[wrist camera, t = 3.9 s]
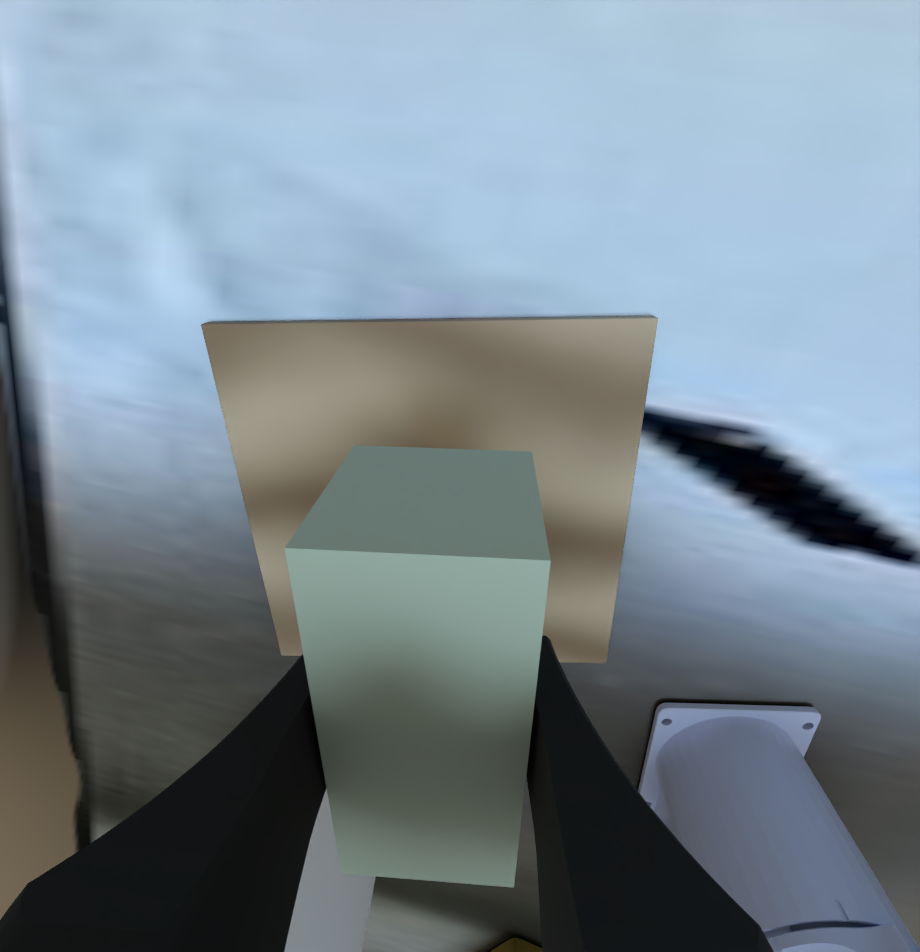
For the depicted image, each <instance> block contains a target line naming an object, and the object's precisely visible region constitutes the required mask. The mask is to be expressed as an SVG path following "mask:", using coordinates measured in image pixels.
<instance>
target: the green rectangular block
mask: <svg viewBox="0 0 920 952" xmlns="http://www.w3.org/2000/svg"><path fill="white" fill-rule="evenodd" d="M285 553H286V559H287V564H288V570H289V576H290V582H291V587H292V593H293V599H294V604H295V610H296V616H297V622H298V627H299V633H300V639H301V645H302V650H303V656H304V662H305V668H306V673H307V679H308V685H309V690H310V696H311V702H312V708H313V713H314V719H315V725H316V731H317V736H318V742H319V748H320V753H321V759H322V765H323V771H324V776H325V782H326V788H327V794H328V799H329V805H330V811H331V816H332V822H333V828H334V834H335V839H336V845H337V851H338V857H339V862H340V868H341V873H343V874H355V875H367V876H380V877H392V878H404V879H416V880H429V881H441V882H453V883H465V884H477V885H490V886H502V887H514V880H515V872H516V863H517V854H518V845H519V836H520V827H521V819H522V810H523V801H524V792H525V783H526V775H527V766H528V757H529V748H530V739H531V731H532V722H533V713H534V704H535V695H536V686H537V678H538V669H539V660H540V651H541V642H542V634H543V625H544V616H545V607H546V598H547V589H548V581H549V572H550V563H551V559H550V553H549V548H548V542H547V536H546V530H545V525H544V519H543V513H542V507H541V502H540V496H539V490H538V484H537V479H536V473H535V467H534V461H533V456H532V452H530V451H502V450H474V449H446V448H418V447H390V446H362V445H354V446H353V448H352V449H351V451H350V452H349V454H348V455H347V457H346V458H345V460H344V461H343V463H342V464H341V466H340V467H339V468H338V470H337V471H336V473H335V474H334V476H333V477H332V479H331V480H330V482H329V483H328V485H327V486H326V488H325V489H324V491H323V492H322V494H321V495H320V497H319V498H318V500H317V501H316V502H315V504H314V505H313V507H312V508H311V510H310V511H309V513H308V514H307V516H306V517H305V519H304V520H303V522H302V523H301V525H300V526H299V528H298V529H297V531H296V532H295V534H294V535H293V536H292V538H291V539H290V541H289V542H288V544H287V545H286V547H285Z"/></svg>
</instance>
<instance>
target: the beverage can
mask: <svg viewBox="0 0 920 952" xmlns="http://www.w3.org/2000/svg"><path fill="white" fill-rule="evenodd" d="M374 882H375V876H367V875H355V874H343V873H341V868H340V862H339V857H338V851H337V845H336V839H335V834H334V828H333V822H332V816H331V811H330V805H329V799H328V794H327V788H326V791H325V794H324V797H323V800H322V803H321V806H320V809H319V812H318V815H317V818H316V821H315V825H314V828H313V831H312V835H311V838H310V842H309V846H308V850H307V855H306V859H305V863H304V867H303V871H302V875H301V879H300V884H299V888H298V892H297V897H296V901H295V906H294V910H293V914H292V919H291V923H290V928H289V932H288V936H287V941H286V946H285V951H284V952H362V950H363V944H364V939H365V933H366V927H367V922H368V916H369V910H370V905H371V899H372V893H373V887H374Z"/></svg>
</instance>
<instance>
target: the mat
mask: <svg viewBox="0 0 920 952" xmlns="http://www.w3.org/2000/svg"><path fill="white" fill-rule="evenodd" d="M657 322H658V318H657V317H654V316H593V317H521V318H449V319H377V320H304V321H232V322H207V323H204V324H201V326H202V330H203V334H204V339H205V343H206V347H207V351H208V355H209V359H210V363H211V367H212V371H213V375H214V380H215V384H216V388H217V392H218V396H219V400H220V404H221V408H222V412H223V417H224V421H225V425H226V429H227V433H228V437H229V441H230V445H231V449H232V454H233V458H234V462H235V466H236V470H237V474H238V478H239V482H240V486H241V491H242V495H243V499H244V503H245V507H246V511H247V515H248V519H249V523H250V527H251V532H252V536H253V540H254V544H255V548H256V552H257V556H258V560H259V564H260V569H261V573H262V577H263V581H264V585H265V589H266V593H267V597H268V601H269V606H270V610H271V614H272V618H273V622H274V626H275V630H276V634H277V638H278V643H279V647H280V651H281V655H291V656H302V654H303V650H302V645H301V639H300V633H299V627H298V622H297V616H296V610H295V604H294V599H293V593H292V587H291V582H290V576H289V570H288V564H287V559H286V553H285V547H286V545H287V544H288V542H289V541H290V539H291V538H292V536H293V535H294V534H295V532H296V531H297V529H298V528H299V526H300V525H301V523H302V522H303V520H304V519H305V517H306V516H307V514H308V513H309V511H310V510H311V508H312V507H313V505H314V504H315V502H316V501H317V500H318V498H319V497H320V495H321V494H322V492H323V491H324V489H325V488H326V486H327V485H328V483H329V482H330V480H331V479H332V477H333V476H334V474H335V473H336V471H337V470H338V468H339V467H340V466H341V464H342V463H343V461H344V460H345V458H346V457H347V455H348V454H349V452H350V451H351V449H352V448H353V446H354V445H362V446H390V447H418V448H446V449H474V450H502V451H530V452H532V456H533V461H534V467H535V473H536V479H537V484H538V490H539V496H540V502H541V507H542V513H543V519H544V525H545V530H546V536H547V542H548V548H549V553H550V559H551V563H550V572H549V581H548V589H547V598H546V607H545V616H544V625H543V634H542V636H547V637H548V638H549V639H550V640H551V643H552V646H553V649H554V651H555V654H556V656H557V658H558V661H559V662H572V663H606V661H607V654H608V648H609V641H610V634H611V628H612V621H613V614H614V608H615V601H616V594H617V588H618V581H619V575H620V568H621V561H622V555H623V548H624V541H625V535H626V528H627V521H628V515H629V508H630V501H631V495H632V488H633V481H634V475H635V468H636V461H637V455H638V448H639V441H640V435H641V428H642V421H643V415H644V408H645V401H646V395H647V388H648V382H649V375H650V368H651V362H652V355H653V348H654V342H655V335H656V328H657Z"/></svg>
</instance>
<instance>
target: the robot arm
mask: <svg viewBox="0 0 920 952" xmlns="http://www.w3.org/2000/svg"><path fill="white" fill-rule="evenodd" d="M820 720H821V716H820V714H819V712H818V711H817V710H816V709H815V708H814V707H804V706H770V705H736V704H701V703H662V704H660V705H659V706H658V707H657V709H656V712H655V717H654V721H653V726H652V730H651V735H650V739H649V743H648V748H647V752H646V757H645V761H644V766H643V770H642V775H641V779H640V784H639V788H638V791H637V789H636V788H635V787H634V785H633V784H632V783H631V781H630V780H629V779H628V777H627V776H626V774H625V773H624V772H623V770H622V769H621V767H620V766H619V765H618V763H617V762H616V760H615V759H614V757H613V756H612V755H611V753H610V751H609V750H608V748H607V747H606V745H605V744H604V742H603V741H602V739H601V738H600V736H599V734H598V733H597V731H596V730H595V728H594V726H593V725H592V723H591V721H590V720H589V718H588V716H587V715H586V713H585V711H584V709H583V708H582V706H581V704H580V702H579V700H578V699H577V697H576V695H575V693H574V691H573V689H572V688H571V686H570V684H569V682H568V680H567V678H566V676H565V674H564V671H563V669H562V667H561V665H560V663H559V661H558V658H557V656H556V654H555V651H554V649H553V646H552V643H551V640H550V639H549V638H548V637H547V636H542V642H541V651H540V660H539V669H538V678H537V686H536V695H535V704H534V713H533V722H532V731H531V739H530V748H529V757H528V766H527V782H528V789H529V796H530V803H531V810H532V817H533V824H534V833H535V842H536V852H537V868H538V884H539V901H540V918H541V936H542V952H920V947H919V946H918V945H917V944H916V942H915V941H914V939H913V937H912V936H911V934H910V933H909V931H908V929H907V928H906V926H905V924H904V923H903V921H902V919H901V918H900V916H899V914H898V913H897V911H896V909H895V908H894V906H893V905H892V903H891V901H890V900H889V898H888V896H887V895H886V893H885V891H884V890H883V888H882V886H881V885H880V883H879V881H878V880H877V878H876V877H875V875H874V873H873V872H872V870H871V868H870V867H869V865H868V863H867V862H866V860H865V858H864V857H863V855H862V853H861V852H860V850H859V848H858V847H857V845H856V844H855V842H854V840H853V839H852V837H851V835H850V834H849V832H848V830H847V829H846V827H845V825H844V824H843V822H842V820H841V819H840V817H839V816H838V814H837V812H836V811H835V809H834V807H833V806H832V804H831V802H830V801H829V799H828V797H827V796H826V794H825V792H824V791H823V789H822V788H821V786H820V784H819V783H818V781H817V779H816V778H815V776H814V774H813V773H812V771H811V769H810V768H809V766H808V764H807V763H806V761H805V759H804V756H805V753H806V751H807V749H808V747H809V744H810V742H811V740H812V738H813V735H814V733H815V731H816V729H817V726H818V724H819V722H820ZM325 791H326V782H325V776H324V771H323V765H322V759H321V753H320V748H319V742H318V736H317V731H316V725H315V719H314V713H313V708H312V702H311V696H310V690H309V685H308V679H307V673H306V668H305V662H304V656H303V654H302V656H301V657H300V658H299V659H298V660H297V662H296V663H295V664H294V665H293V666H292V667H291V669H290V670H289V671H288V672H287V673H286V674H285V676H284V677H283V678H282V679H281V680H280V681H279V682H278V683H277V685H276V686H275V687H274V688H273V689H272V690H271V691H270V692H269V694H268V695H267V696H266V697H265V698H264V699H263V700H262V701H261V702H260V703H259V704H258V705H257V706H256V707H255V708H254V709H253V710H252V711H251V712H250V713H249V714H248V715H247V717H246V718H245V719H244V720H243V721H242V722H241V723H240V724H239V725H238V726H237V727H236V728H235V729H234V730H233V731H232V732H231V733H229V734H228V735H227V736H226V737H225V738H224V739H223V740H222V741H221V742H220V743H219V744H218V745H217V746H216V747H215V748H213V749H212V750H211V751H210V752H209V753H208V754H207V755H206V756H205V757H203V758H202V759H201V760H200V761H199V762H198V763H197V764H195V765H194V766H193V767H192V768H191V769H189V770H188V771H187V772H186V773H185V774H183V775H182V776H181V777H180V778H179V779H177V780H176V781H175V782H174V783H173V784H171V785H170V786H169V787H168V788H166V789H165V790H164V791H163V792H161V793H160V794H159V795H158V796H156V797H155V798H154V799H152V800H151V801H150V802H148V803H147V804H146V805H144V806H143V807H141V808H140V809H139V810H137V811H136V812H135V813H133V814H132V815H131V816H129V817H128V818H126V819H125V820H124V821H122V822H121V823H120V824H118V825H117V826H115V827H114V828H113V829H111V830H110V831H108V832H107V833H106V834H104V835H103V836H101V837H100V838H98V839H97V840H95V841H94V842H92V843H91V844H89V845H88V846H86V847H85V848H83V849H82V850H80V851H78V852H77V853H75V854H74V855H72V856H71V857H69V858H67V859H66V860H64V861H63V862H61V863H60V864H58V865H57V866H55V867H53V868H52V869H50V870H49V871H47V872H46V873H44V874H43V875H41V876H40V877H38V878H36V879H34V880H33V881H31V882H29V883H28V884H27V885H26V887H25V888H24V889H23V890H22V892H21V893H20V894H19V896H18V897H17V898H16V899H15V901H14V902H13V904H12V905H11V906H10V907H9V909H8V910H7V912H6V913H5V914H4V916H3V917H2V918H1V920H0V952H284V951H285V946H286V941H287V936H288V932H289V928H290V923H291V919H292V914H293V910H294V906H295V901H296V897H297V892H298V888H299V884H300V879H301V875H302V871H303V867H304V863H305V859H306V855H307V850H308V846H309V842H310V838H311V835H312V831H313V828H314V825H315V821H316V818H317V815H318V812H319V809H320V806H321V803H322V800H323V797H324V794H325Z"/></svg>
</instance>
